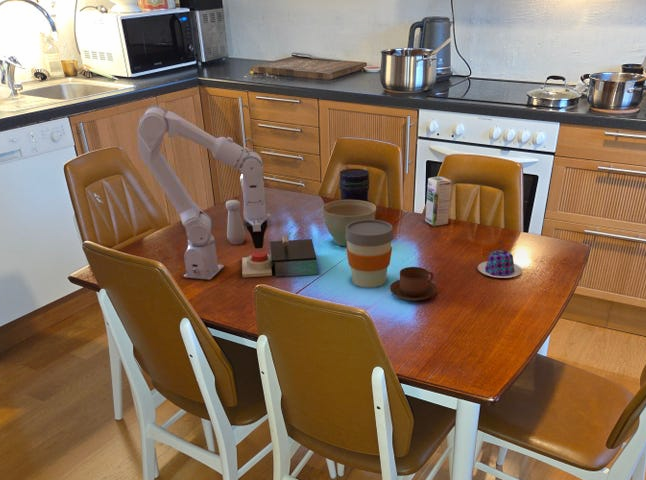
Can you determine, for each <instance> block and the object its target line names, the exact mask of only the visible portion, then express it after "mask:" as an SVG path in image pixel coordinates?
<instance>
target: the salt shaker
mask: <svg viewBox="0 0 646 480" xmlns="http://www.w3.org/2000/svg"><path fill="white" fill-rule="evenodd" d="M225 209H226V210H227V225H226V226H227V229H226V238H227V239H228V241H229V242H230V244H231V245H241V244H243V243H244V241H245V239H246V236H247V235H246V234H247V232H246V229H245V226H244V222H243V220H242V216H241V212H240V209H241V202H240V201H239V200H238V199H229V200H227V201H225Z"/></svg>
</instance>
